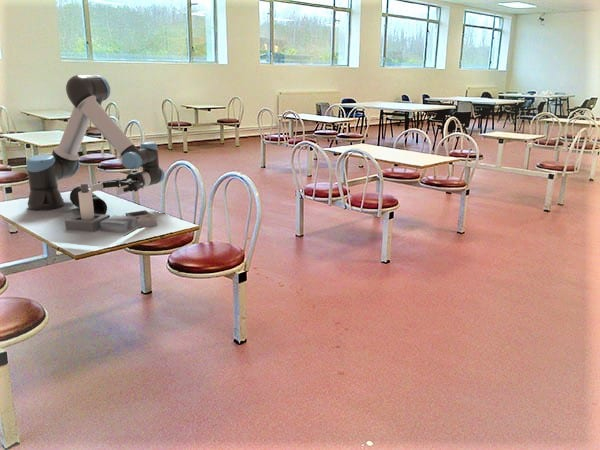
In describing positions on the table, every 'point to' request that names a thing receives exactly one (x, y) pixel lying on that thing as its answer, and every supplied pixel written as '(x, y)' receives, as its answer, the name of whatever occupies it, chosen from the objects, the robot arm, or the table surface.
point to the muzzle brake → (98, 203)
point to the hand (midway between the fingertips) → (103, 190)
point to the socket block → (85, 223)
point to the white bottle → (86, 203)
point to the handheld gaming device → (143, 218)
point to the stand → (118, 224)
